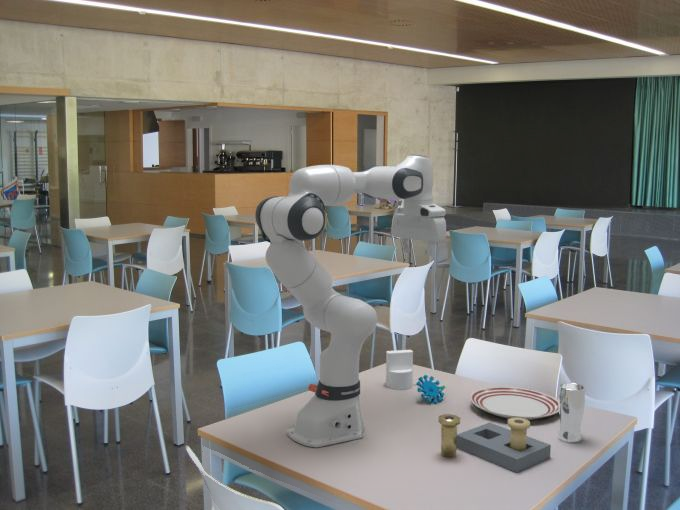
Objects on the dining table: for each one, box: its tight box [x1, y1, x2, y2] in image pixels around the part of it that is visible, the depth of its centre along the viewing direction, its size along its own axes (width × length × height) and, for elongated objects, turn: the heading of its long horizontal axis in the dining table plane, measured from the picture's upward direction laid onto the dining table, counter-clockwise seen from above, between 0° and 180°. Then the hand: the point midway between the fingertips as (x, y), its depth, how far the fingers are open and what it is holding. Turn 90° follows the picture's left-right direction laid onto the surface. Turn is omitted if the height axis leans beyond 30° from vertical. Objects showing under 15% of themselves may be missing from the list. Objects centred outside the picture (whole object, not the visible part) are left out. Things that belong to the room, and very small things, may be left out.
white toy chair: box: [385, 349, 414, 391], centre depth 241 cm, size 9×9×12 cm
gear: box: [415, 374, 446, 405], centre depth 228 cm, size 11×6×10 cm
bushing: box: [438, 413, 461, 459], centre depth 185 cm, size 6×6×10 cm
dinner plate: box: [469, 386, 559, 421], centre depth 219 cm, size 28×27×3 cm
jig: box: [456, 418, 552, 474], centre depth 186 cm, size 20×14×10 cm
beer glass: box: [557, 382, 586, 444], centre depth 195 cm, size 7×7×15 cm
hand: (417, 254), depth 216 cm, fingers open, 8 cm apart
